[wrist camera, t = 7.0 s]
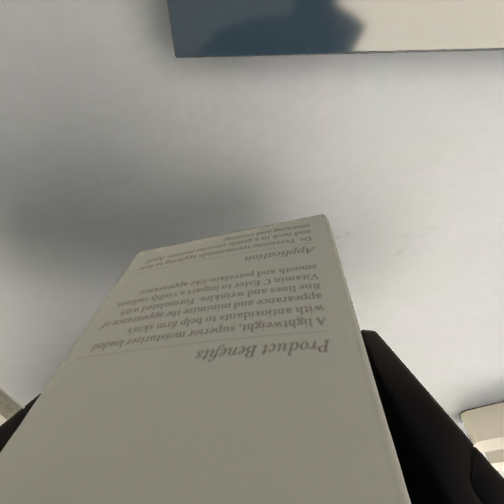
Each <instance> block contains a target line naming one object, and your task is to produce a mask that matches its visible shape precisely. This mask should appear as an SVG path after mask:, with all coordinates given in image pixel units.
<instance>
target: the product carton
mask: <svg viewBox="0 0 504 504" xmlns="http://www.w3.org/2000/svg"><path fill="white" fill-rule="evenodd" d="M0 504H411V502H410V498H409V495H408V492H407V488H406V485H405V481H404V478H403V474H402V471H401V467H400V464H399V460H398V457H397V453H396V450H395V447H394V443H393V440H392V437H391V434H390V430H389V427H388V424H387V420H386V417H385V414H384V411H383V407H382V404H381V400H380V397H379V394H378V390H377V387H376V383H375V380H374V376H373V373H372V369H371V366H370V363H369V359H368V356H367V352H366V349H365V345H364V342H363V338H362V335H361V331H360V328H359V325H358V321H357V318H356V314H355V311H354V307H353V304H352V300H351V297H350V293H349V290H348V286H347V283H346V279H345V276H344V272H343V269H342V266H341V262H340V259H339V255H338V252H337V249H336V245H335V242H334V238H333V235H332V231H331V228H330V225H329V222H328V219H327V217H326V216H325V215H317V216H312V217H307V218H302V219H297V220H292V221H287V222H282V223H277V224H272V225H268V226H263V227H258V228H253V229H248V230H243V231H239V232H234V233H229V234H223V235H219V236H214V237H209V238H204V239H199V240H194V241H190V242H185V243H180V244H176V245H171V246H166V247H161V248H156V249H152V250H147V251H142V252H139V253H138V254H137V255H136V257H135V258H134V260H133V261H132V263H131V264H130V266H129V267H128V269H127V270H126V272H125V273H124V274H123V276H122V277H121V279H120V280H119V282H118V283H117V285H116V286H115V288H114V289H113V290H112V292H111V293H110V295H109V296H108V297H107V299H106V301H105V302H104V303H103V305H102V306H101V307H100V309H99V310H98V311H97V313H96V314H95V316H94V317H93V319H92V320H91V322H90V324H89V325H88V327H87V328H86V329H85V331H84V332H83V334H82V335H81V337H80V338H79V339H78V341H77V342H76V344H75V345H74V346H73V348H72V349H71V351H70V352H69V353H68V355H67V356H66V358H65V359H64V361H63V363H62V364H61V366H60V367H59V368H58V370H57V371H56V373H55V374H54V376H53V377H52V379H51V380H50V381H49V383H48V384H47V386H46V387H45V389H44V390H43V392H42V393H41V395H40V396H39V397H38V399H37V400H36V402H35V403H34V405H33V406H32V408H31V409H30V410H29V412H28V414H27V415H26V417H25V418H24V420H23V421H22V423H21V424H20V426H19V427H18V428H17V430H16V431H15V432H14V434H13V435H12V437H11V438H10V440H9V441H8V442H7V444H6V445H5V447H4V448H3V450H2V451H1V452H0Z"/></svg>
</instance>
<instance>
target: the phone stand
mask: <svg viewBox="0 0 504 504" xmlns="http://www.w3.org/2000/svg"><path fill="white" fill-rule="evenodd" d="M460 416H461V418H462V421H463V423H464V425H465V427H466V429H467V431H468V433H469V436H470V438H471V440H472V442H473V444H474V446H475V447H476V448H477V449H478V450H479V451H480V452H481V453H482V452H485V454H486V457H487V459H488V461H489V462H490V464H491V465H492V466H493V467H494V468H495V469H496V470H497V471H504V402H502V403H497V404H493V405H489V406H485V407H481V408H476V409H472V410H468V411H465V412H463V413H462V414H461V415H460Z"/></svg>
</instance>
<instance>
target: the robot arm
mask: <svg viewBox="0 0 504 504" xmlns="http://www.w3.org/2000/svg"><path fill="white" fill-rule="evenodd" d="M361 335H362V338H363V342H364V345H365V349H366V352H367V356H368V359H369V363H370V366H371V369H372V373H373V376H374V380H375V383H376V387H377V390H378V394H379V397H380V400H381V404H382V407H383V411H384V414H385V417H386V420H387V424H388V427H389V430H390V434H391V437H392V440H393V443H394V447H395V450H396V453H397V457H398V460H399V464H400V467H401V471H402V474H403V478H404V481H405V485H406V488H407V492H408V495H409V498H410V502H411V504H504V478H503V477H502V476H501V475H500V474H499V473H498V471H497V470H496V469H495V468H494V467H493V466H492V465H491V464H490V462H489V461H488V460H487V459H486V458H485V457H484V456H483V454H482V453H481V452H480V451H479V450H478V449H477V448H476V447H473V443H472V442H471V441H470V440H469V438H468V437H467V436H466V435H465V434H464V433H463V432H462V430H461V429H460V428H459V427H458V426H457V425H456V423H455V422H454V421H453V420H452V419H451V418H450V417H449V415H448V414H447V413H446V412H445V411H444V410H443V408H442V407H441V406H440V405H439V404H438V403H437V402H436V400H435V399H434V398H433V397H432V396H431V395H430V393H429V392H428V391H427V390H426V389H425V388H424V387H423V385H422V384H421V383H420V382H419V381H418V380H417V378H416V377H415V376H414V375H413V374H412V373H411V372H410V370H409V369H408V368H407V367H406V366H405V365H404V363H403V362H402V361H401V360H400V359H399V358H398V357H397V355H396V354H395V353H394V352H393V351H392V350H391V348H390V347H389V346H388V345H387V344H386V343H385V342H384V340H383V339H382V338H381V337H380V336H379V335H378V333H377V332H375V331H371V330H362V331H361ZM40 395H41V394H39V395H38V396H37V397H36V398H34V399H33V400H32V401H31V402H30V403H28V404H27V405H26V406H25V408H24V409H21V410H20V411H18V412H17V413H16V414H15V415H14V416H12V417H11V418H10V419H9V420H7V421H6V422H5V423H4V424H2V425H1V426H0V452H1V451H2V450H3V448H4V447H5V445H6V444H7V442H8V441H9V440H10V438H11V437H12V435H13V434H14V432H15V431H16V430H17V428H18V427H19V426H20V424H21V423H22V421H23V420H24V418H25V417H26V415H27V414H28V412H29V410H30V409H31V408H32V406H33V405H34V403H35V402H36V400H37V399H38V397H39V396H40Z"/></svg>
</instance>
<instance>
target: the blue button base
mask: <svg viewBox="0 0 504 504" xmlns="http://www.w3.org/2000/svg"><path fill="white" fill-rule="evenodd" d="M167 3H168V10H169V17H170V24H171V31H172V38H173V44H174V51H175V57H176V58H204V57H244V56H285V55H326V54H367V53H408V52H449V51H490V50H504V0H167Z"/></svg>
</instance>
